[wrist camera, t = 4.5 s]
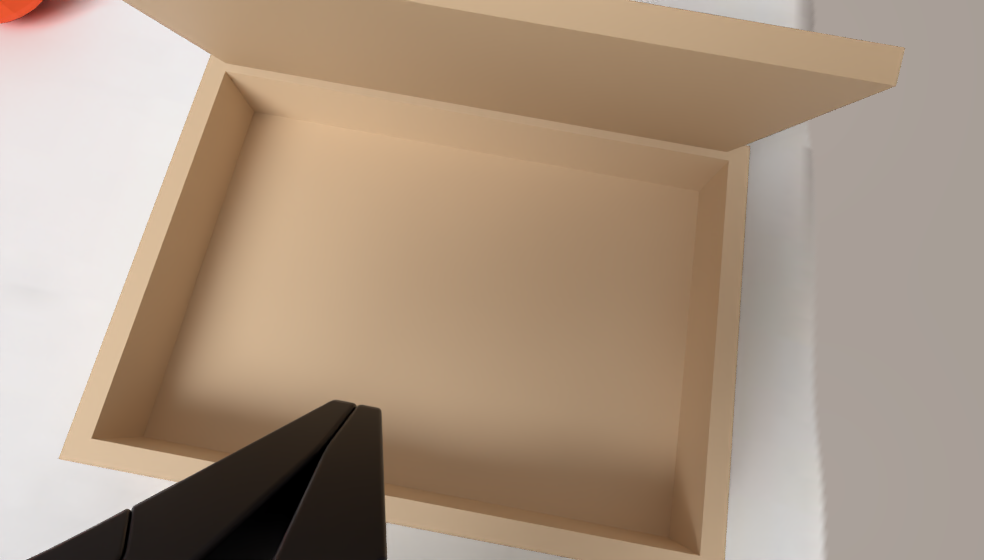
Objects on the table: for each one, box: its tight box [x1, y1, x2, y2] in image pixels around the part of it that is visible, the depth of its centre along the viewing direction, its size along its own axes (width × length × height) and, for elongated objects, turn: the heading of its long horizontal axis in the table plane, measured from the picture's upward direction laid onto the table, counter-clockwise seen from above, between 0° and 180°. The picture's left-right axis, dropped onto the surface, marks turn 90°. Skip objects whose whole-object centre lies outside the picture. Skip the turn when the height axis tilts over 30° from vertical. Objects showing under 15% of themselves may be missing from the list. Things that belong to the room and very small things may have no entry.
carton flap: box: [123, 0, 905, 152], centre depth 16 cm, size 1×20×9 cm, turn 80°
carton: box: [59, 55, 750, 560], centre depth 21 cm, size 16×22×4 cm
